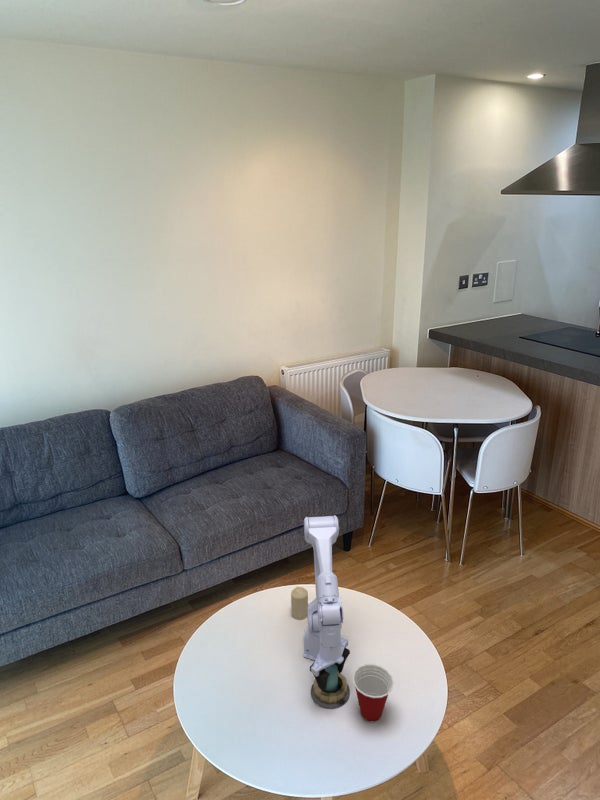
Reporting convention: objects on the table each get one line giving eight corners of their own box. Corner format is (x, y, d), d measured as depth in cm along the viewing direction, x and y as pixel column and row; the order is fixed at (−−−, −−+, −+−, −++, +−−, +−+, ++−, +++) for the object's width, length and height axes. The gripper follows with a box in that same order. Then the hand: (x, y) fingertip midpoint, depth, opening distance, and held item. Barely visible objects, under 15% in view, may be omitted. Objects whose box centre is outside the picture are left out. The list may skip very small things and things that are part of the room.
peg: (319, 694, 164) (319, 672, 162) (325, 683, 168) (324, 661, 166) (334, 699, 163) (334, 676, 160) (339, 687, 167) (339, 665, 164)
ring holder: (304, 701, 163) (304, 691, 162) (319, 672, 173) (319, 663, 172) (341, 714, 159) (341, 704, 158) (355, 684, 168) (355, 675, 167)
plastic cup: (383, 737, 152) (384, 701, 148) (345, 720, 157) (345, 685, 153) (398, 706, 161) (399, 672, 157) (361, 691, 166) (362, 657, 162)
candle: (296, 622, 193) (295, 596, 189) (288, 611, 197) (288, 587, 194) (311, 616, 195) (310, 591, 192) (303, 606, 200) (302, 582, 196)
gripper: (325, 663, 152) (326, 703, 157) (357, 631, 162) (356, 670, 167) (304, 651, 156) (305, 690, 161) (336, 620, 167) (336, 658, 171)
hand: (330, 679), depth 164 cm, fingers open, 7 cm apart
